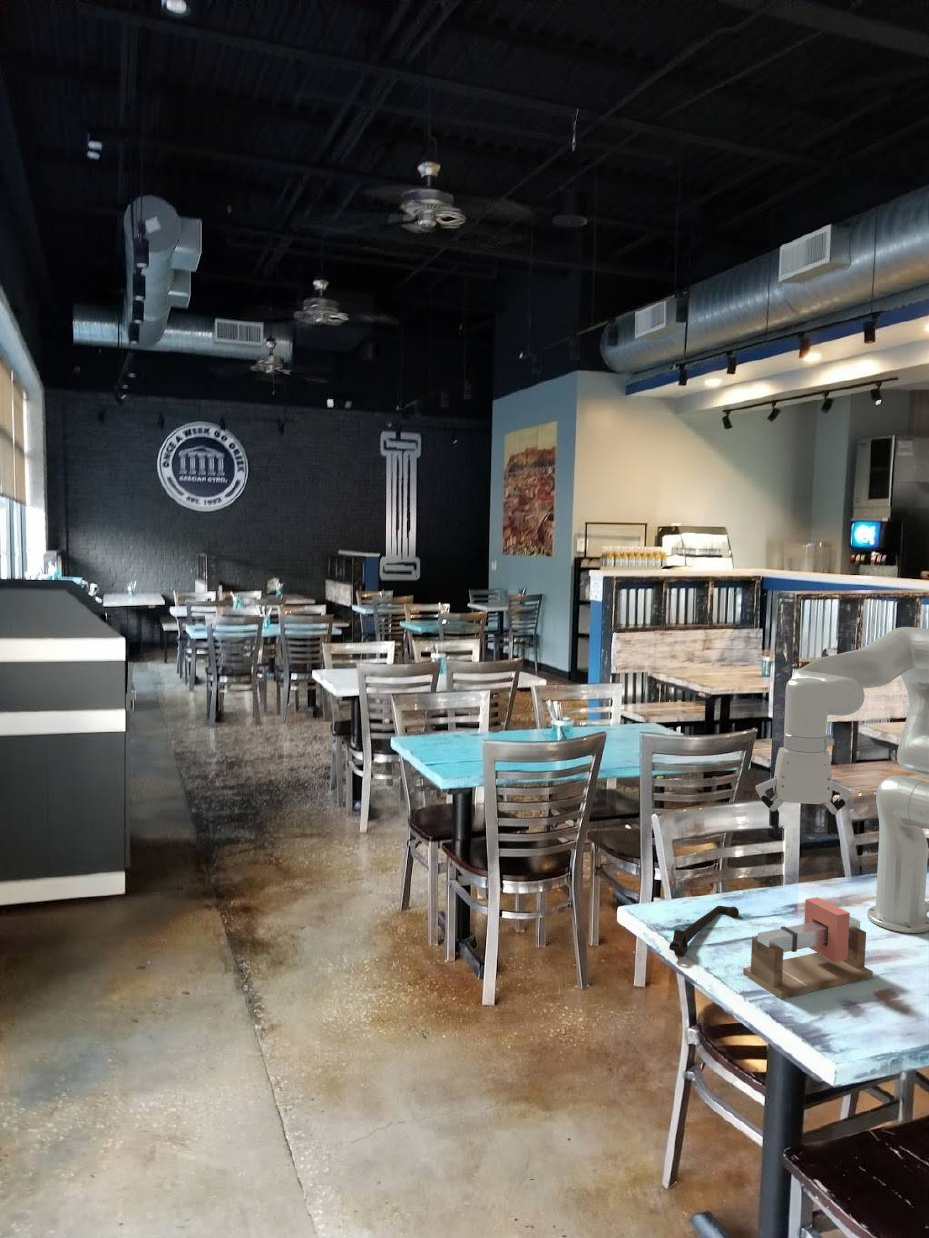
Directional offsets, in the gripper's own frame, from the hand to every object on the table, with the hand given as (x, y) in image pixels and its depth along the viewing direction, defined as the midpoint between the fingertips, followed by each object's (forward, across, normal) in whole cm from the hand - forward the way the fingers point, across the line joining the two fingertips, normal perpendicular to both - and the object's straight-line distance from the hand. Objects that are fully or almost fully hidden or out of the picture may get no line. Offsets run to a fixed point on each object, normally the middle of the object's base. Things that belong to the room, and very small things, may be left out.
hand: (801, 831), depth 174 cm
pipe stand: (+26, -1, +6) cm, 27 cm away
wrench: (+27, +16, -9) cm, 32 cm away
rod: (+20, -1, +6) cm, 21 cm away
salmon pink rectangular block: (+22, -4, +3) cm, 23 cm away
